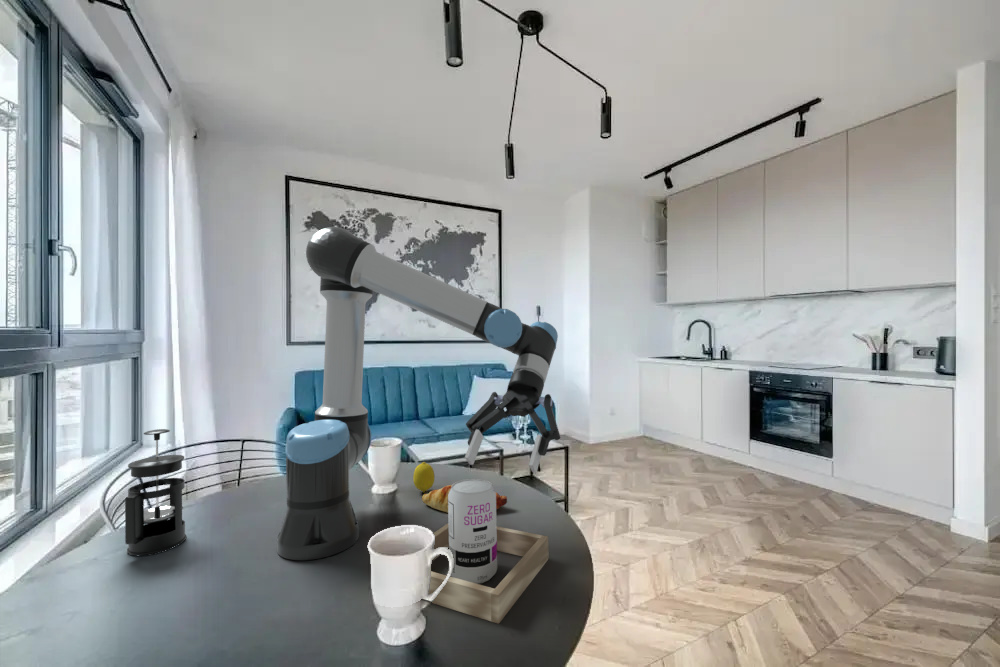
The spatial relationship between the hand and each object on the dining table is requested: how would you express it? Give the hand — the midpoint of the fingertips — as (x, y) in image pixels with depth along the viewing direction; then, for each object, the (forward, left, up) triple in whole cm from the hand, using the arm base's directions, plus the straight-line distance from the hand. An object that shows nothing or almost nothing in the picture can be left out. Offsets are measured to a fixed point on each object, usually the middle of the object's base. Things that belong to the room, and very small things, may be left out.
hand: (499, 465), depth 83 cm
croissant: (-18, +15, -16) cm, 28 cm away
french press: (-64, -28, -16) cm, 71 cm away
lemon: (-33, +19, -16) cm, 41 cm away
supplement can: (-1, -10, -16) cm, 19 cm away
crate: (-1, -10, -16) cm, 19 cm away
